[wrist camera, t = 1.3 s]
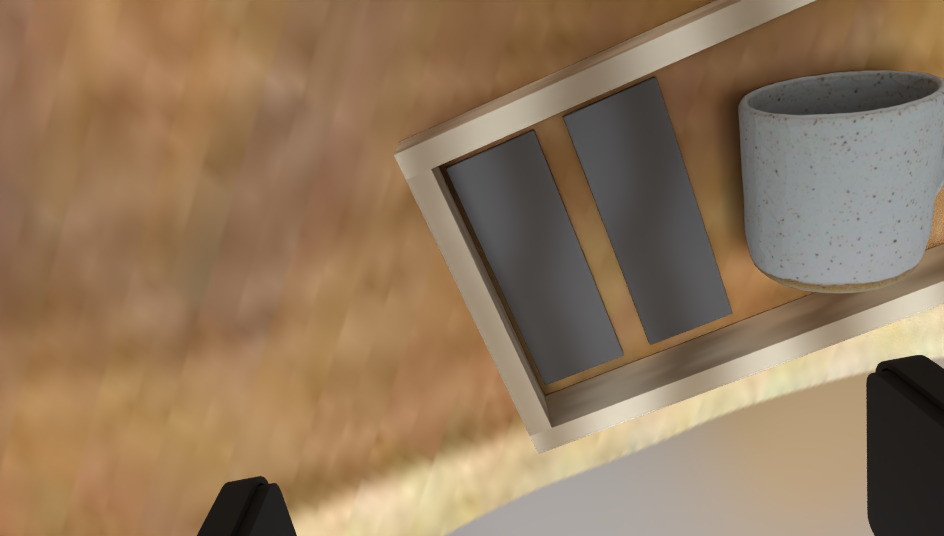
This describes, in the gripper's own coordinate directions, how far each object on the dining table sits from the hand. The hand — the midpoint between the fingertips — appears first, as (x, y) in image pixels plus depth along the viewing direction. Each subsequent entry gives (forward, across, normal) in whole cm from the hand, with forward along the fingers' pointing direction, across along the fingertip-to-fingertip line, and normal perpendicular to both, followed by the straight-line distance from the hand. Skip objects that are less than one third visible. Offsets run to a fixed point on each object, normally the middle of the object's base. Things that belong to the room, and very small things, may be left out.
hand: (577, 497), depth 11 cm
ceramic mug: (+24, -16, +1) cm, 28 cm away
